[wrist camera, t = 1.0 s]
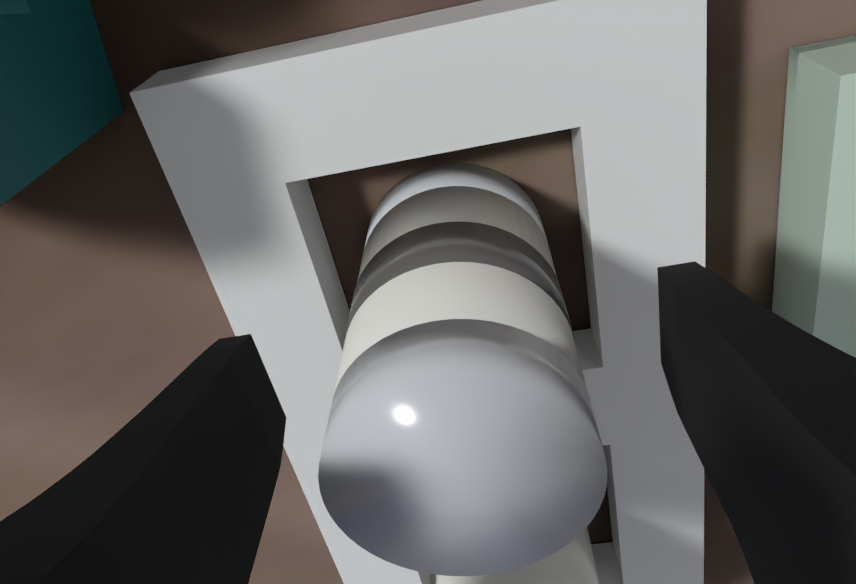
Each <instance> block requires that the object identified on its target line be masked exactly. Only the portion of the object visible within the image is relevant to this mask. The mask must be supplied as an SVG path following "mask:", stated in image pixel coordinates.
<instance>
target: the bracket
mask: <svg viewBox="0 0 856 584" xmlns="http://www.w3.org/2000/svg"><path fill="white" fill-rule="evenodd" d="M122 112H124V110H123V106H122V103H121V100H120V97H119V94H118V90H117V87H116V84H115V81H114V77H113V74H112V71H111V68H110V65H109V61H108V58H107V55H106V52H105V49H104V45H103V42H102V39H101V36H100V32H99V29H98V26H97V23H96V20H95V16H94V13H93V10H92V7H91V4H90V0H0V206H1V205H2V204H3V203H5V202H6V201H8V200H9V199H10V198H12V197H13V196H14V195H16V194H17V193H18V192H20V191H21V190H22V189H23V188H25V187H26V186H27V185H29V184H30V183H31V182H33V181H34V180H35V179H36V178H38V177H39V176H40V175H42V174H43V173H44V172H46V171H47V170H48V169H49V168H51V167H52V166H53V165H55V164H56V163H57V162H59V161H60V160H61V159H62V158H64V157H65V156H66V155H68V154H69V153H70V152H72V151H73V150H74V149H75V148H77V147H78V146H79V145H81V144H82V143H83V142H85V141H86V140H87V139H88V138H90V137H91V136H92V135H94V134H95V133H96V132H98V131H99V130H100V129H101V128H103V127H104V126H105V125H107V124H108V123H109V122H111V121H112V120H113V119H114V118H116V117H117V116H118V115H120V114H121V113H122Z"/></svg>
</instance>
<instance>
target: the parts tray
mask: <svg viewBox="0 0 856 584" xmlns="http://www.w3.org/2000/svg"><path fill="white" fill-rule="evenodd" d="M772 312H773V313H775V314H777V315H778V316H780V317H782V318H783V319H785V320H787V321H788V322H790V323H792V324H794V325H795V326H797V327H799V328H800V329H802V330H804V331H806V332H808V333H809V334H811V335H813V336H815V337H817V338H819V339H821V340H822V341H824V342H826V343H828V344H830V345H832V346H834V347H835V348H837V349H839V350H841V351H843V352H845V353H847V354H849V355H851V356H853V357H855V358H856V35H853V36H848V37H843V38H838V39H833V40H828V41H823V42H818V43H812V44H807V45H802V46H797V47H792V48H789V62H788V77H787V92H786V107H785V122H784V137H783V152H782V167H781V182H780V197H779V212H778V227H777V242H776V257H775V272H774V287H773V302H772Z"/></svg>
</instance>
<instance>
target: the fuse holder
mask: <svg viewBox="0 0 856 584" xmlns="http://www.w3.org/2000/svg"><path fill="white" fill-rule="evenodd" d="M706 50H707V0H482V1H478V2H473V3H469V4H464V5H460V6H455V7H450V8H446V9H441V10H437V11H432V12H427V13H423V14H418V15H414V16H409V17H405V18H400V19H395V20H391V21H386V22H382V23H377V24H373V25H368V26H363V27H359V28H354V29H350V30H345V31H341V32H336V33H331V34H327V35H322V36H318V37H313V38H308V39H304V40H299V41H295V42H290V43H286V44H281V45H276V46H272V47H267V48H263V49H258V50H254V51H249V52H244V53H240V54H235V55H231V56H226V57H221V58H217V59H212V60H208V61H203V62H199V63H194V64H189V65H185V66H180V67H176V68H171V69H167V70H162V71H158V72H157V73H156V74H154V75H153V76H152V77H150V78H149V79H147V80H146V81H145V82H143V83H142V84H141V85H139V86H138V87H136V88H135V89H134V90H132V91H131V92H130V93H129V94H130V96H131V98H132V101H133V103H134V105H135V107H136V110H137V112H138V114H139V117H140V119H141V121H142V123H143V126H144V128H145V130H146V133H147V135H148V137H149V139H150V142H151V144H152V146H153V149H154V151H155V153H156V155H157V158H158V160H159V162H160V165H161V167H162V169H163V171H164V174H165V176H166V178H167V181H168V183H169V185H170V187H171V190H172V192H173V194H174V197H175V199H176V201H177V203H178V206H179V208H180V210H181V213H182V215H183V217H184V219H185V222H186V224H187V226H188V229H189V231H190V233H191V235H192V238H193V240H194V242H195V245H196V247H197V249H198V251H199V254H200V256H201V258H202V261H203V263H204V265H205V267H206V270H207V272H208V274H209V277H210V279H211V281H212V283H213V286H214V288H215V290H216V293H217V295H218V297H219V299H220V302H221V304H222V306H223V309H224V311H225V313H226V315H227V318H228V320H229V322H230V325H231V327H232V329H233V331H234V334H235V336H241V335H247V334H251V336H252V338H253V340H254V343H255V345H256V347H257V350H258V352H259V354H260V357H261V359H262V361H263V364H264V366H265V368H266V371H267V373H268V376H269V378H270V380H271V383H272V385H273V387H274V390H275V392H276V394H277V397H278V399H279V401H280V404H281V406H282V408H283V411H284V413H285V415H286V425H285V434H284V443H283V446H284V448H285V450H286V452H287V455H288V457H289V459H290V462H291V464H292V466H293V468H294V471H295V473H296V475H297V478H298V480H299V482H300V484H301V487H302V489H303V491H304V494H305V496H306V498H307V500H308V503H309V505H310V507H311V510H312V512H313V514H314V516H315V519H316V521H317V523H318V526H319V528H320V530H321V532H322V535H323V537H324V539H325V542H326V544H327V546H328V548H329V551H330V553H331V555H332V558H333V560H334V562H335V564H336V567H337V569H338V571H339V574H340V576H341V578H342V580H343V583H344V584H436V575H434V574H429V573H423V572H418V571H414V570H411V569H407V568H403V567H400V566H398V565H395V564H392V563H390V562H387V561H385V560H383V559H381V558H379V557H377V556H375V555H373V554H371V553H369V552H368V551H366V550H365V549H363V548H361V547H360V546H359V545H357V544H356V543H355V542H354V541H352V540H351V539H350V538H349V537H348V536H347V535H346V534H345V533H344V532H343V531H342V530H341V529H340V528H339V527H338V526H337V525H336V523H335V522H334V520H333V519H332V518H331V516H330V515H329V513H328V511H327V509H326V507H325V505H324V503H323V500H322V496H321V493H320V489H319V481H318V471H319V462H320V457H321V452H322V447H323V443H324V438H325V433H326V428H327V423H328V419H329V414H330V409H331V404H332V400H333V395H334V390H335V385H336V381H337V376H338V371H339V366H340V362H341V357H342V352H343V342H344V337H345V332H346V327H347V323H348V318H349V313H350V310H349V307H348V304H347V301H346V298H345V295H344V292H343V289H342V286H341V282H340V279H339V276H338V273H337V270H336V267H335V264H334V261H333V258H332V255H331V251H330V248H329V245H328V242H327V239H326V236H325V233H324V230H323V227H322V223H321V220H320V217H319V214H318V211H317V208H316V205H315V202H314V199H313V196H312V192H311V189H310V186H309V183H308V180H307V179H309V178H314V177H320V176H325V175H330V174H335V173H341V172H346V171H351V170H356V169H362V168H367V167H372V166H377V165H382V164H388V163H393V162H398V161H403V160H409V159H414V158H419V157H424V156H429V155H435V154H440V153H445V152H450V151H456V150H461V149H466V148H471V147H477V146H482V145H487V144H492V143H497V142H503V141H508V140H513V139H518V138H524V137H529V136H534V135H539V134H544V133H550V132H555V131H560V130H565V129H571V136H572V146H573V156H574V166H575V175H576V185H577V195H578V205H579V215H580V225H581V234H582V244H583V254H584V264H585V274H586V284H587V294H588V303H589V313H590V323H591V328H590V329H584V330H577V331H573V334H574V339H575V344H576V349H577V353H578V357H579V361H580V364H581V368H582V372H583V375H584V379H585V383H586V387H587V390H588V394H589V398H590V401H591V405H592V409H593V412H594V416H595V420H596V424H597V427H598V431H599V435H600V438H601V442H602V446H603V450H604V453H605V458H606V463H607V490H608V500H609V510H610V520H611V530H612V540H613V542H608V543H599V544H591V547H592V552H593V556H594V561H595V566H596V571H597V575H598V580H599V584H704V467H703V465H702V463H701V461H700V459H699V457H698V455H697V453H696V451H695V449H694V447H693V444H692V442H691V440H690V438H689V436H688V434H687V432H686V430H685V428H684V426H683V424H682V421H681V419H680V417H679V415H678V413H677V410H676V407H675V404H674V401H673V399H672V396H671V393H670V390H669V387H668V383H667V380H666V377H665V374H664V371H663V368H662V365H661V352H660V324H659V296H658V267H664V266H670V265H676V264H682V263H688V262H694V261H695V262H697V263H698V264H700V265H702V266H703V267H705V243H706Z"/></svg>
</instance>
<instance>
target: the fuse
mask: <svg viewBox="0 0 856 584" xmlns="http://www.w3.org/2000/svg"><path fill="white" fill-rule="evenodd" d="M436 584H599V580H598V575H597V571H596V566H595V561H594V556H593V552H592V547H591V542H590V538H589V533H588V528H587V527H586V528H585V530H584V531H583V532H582V533H581V534H580V535H578V536H577V537H576V538H575V539H574V540H573V541H572V542H570V543H569V544H568V545H566V546H565V547H564V548H562V549H561V550H559V551H557V552H555V553H554V554H552V555H550V556H549V557H546V558H544V559H542V560H540V561H538V562H535V563H533V564H530V565H527V566H524V567H521V568H518V569H514V570H510V571H506V572H502V573H496V574H489V575H480V576H445V575H436Z"/></svg>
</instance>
